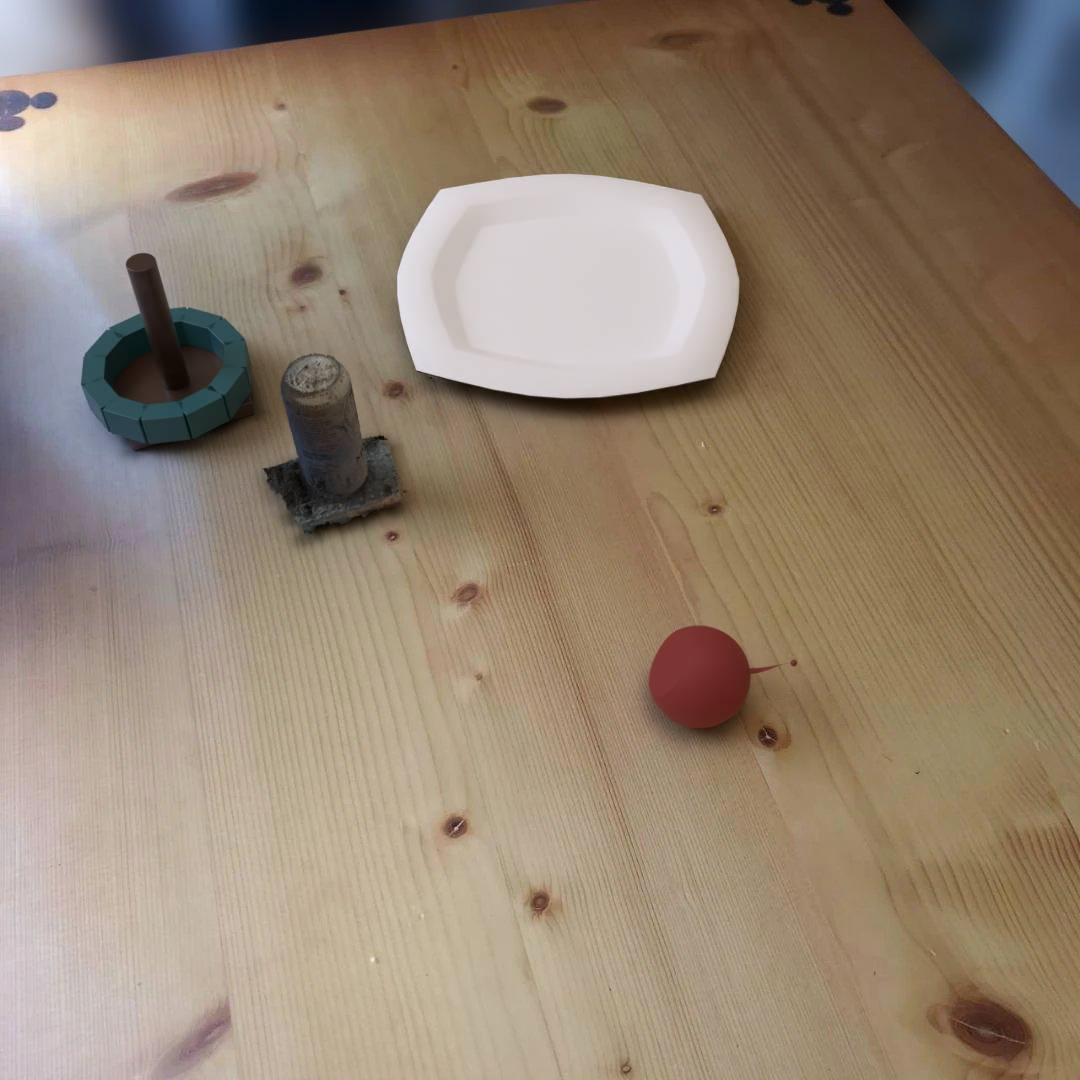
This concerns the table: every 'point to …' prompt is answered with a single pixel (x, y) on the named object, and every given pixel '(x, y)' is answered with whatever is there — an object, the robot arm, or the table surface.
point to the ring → (167, 417)
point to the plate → (568, 287)
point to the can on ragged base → (330, 449)
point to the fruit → (701, 676)
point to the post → (164, 350)
